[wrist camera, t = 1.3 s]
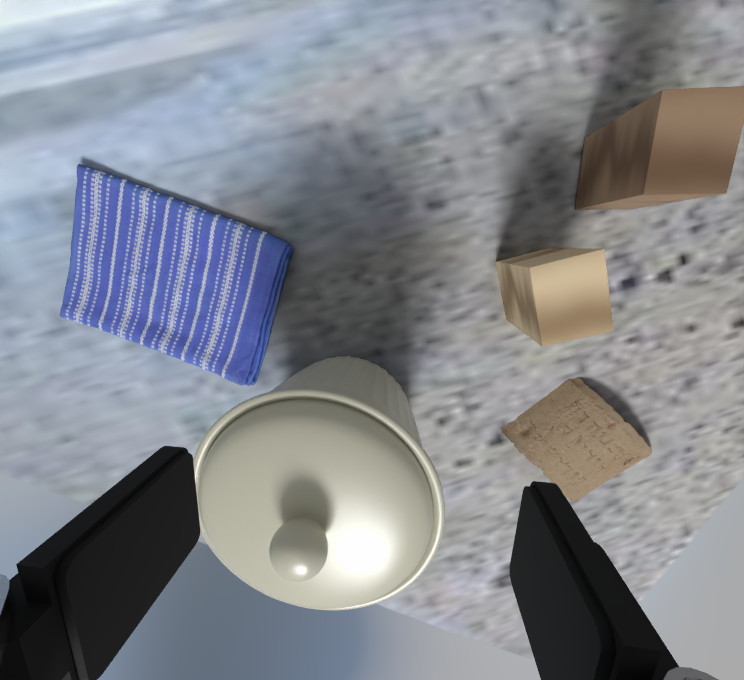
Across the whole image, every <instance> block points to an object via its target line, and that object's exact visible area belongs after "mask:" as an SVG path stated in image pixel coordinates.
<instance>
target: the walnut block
mask: <svg viewBox="0 0 744 680" xmlns="http://www.w3.org/2000/svg"><path fill="white" fill-rule="evenodd" d="M743 122H744V86H737V87H713V88H690V89H667V90H661V91H660V92H658V93H656V94H655V95H653V96H652V97H650V98H648V99H647V100H645V101H643V102H642V103H640V104H639V105H637V106H635V107H634V108H632V109H630V110H629V111H627V112H626V113H624V114H622V115H621V116H619V117H617V118H616V119H614V120H613V121H611V122H609V123H608V124H606V125H604V126H603V127H601V128H600V129H598V130H596V131H595V132H593V133H591V134H590V135H588V136H587V137H585V139H584V147H583V154H582V161H581V168H580V176H579V183H578V190H577V197H576V205H575V210H589V209H635V208H641V207H647V206H653V205H659V204H665V203H671V202H677V201H683V200H689V199H695V198H701V197H707V196H713V195H719V194H725V193H727V189H728V185H729V180H730V176H731V172H732V168H733V164H734V160H735V155H736V151H737V147H738V143H739V139H740V135H741V130H742V126H743Z"/></svg>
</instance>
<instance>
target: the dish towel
mask: <svg viewBox="0 0 744 680" xmlns="http://www.w3.org/2000/svg"><path fill="white" fill-rule="evenodd" d="M77 178H78V183H77V189H76V198H75V213H74V224H73V234H72V242H71V258H70V267H69V273H68V278H67V283H66V287H65V293H64V298H63V304H62V308H61V312H60V317H62V318H66V319H69V320H73V321H75V322H77V323H80V324H84V325H88V326H92V327H96V328H98V329H100V330H103V331H106V332H109V333H112V334H114V335H117V336H119V337H121V338H124V339H127V340H130V341H133V342H136V343H139V344H141V345H144V346H146V347H148V348H152V349H155V350H158V351H160V352H161V353H164V354H167V355H170V356H172V357H176V358H178V359H181V360H182V361H184V362H187V363H190V364H193V365H196V366H199V367H200V368H202V369H204V370H208V371H211V372H213V373H215V374H218V375H220V376H221V377H223V378H225V379H227V380H229V381H231V382H234V383H237V384H239V385H250V384H251V385H254V384H255V383H256V381H257V378H258V375H259V371H260V368H261V364H262V362H263V359H264V356H265V353H266V349H267V344H268V340H269V335H270V331H271V326H272V323H273V319H274V316H275V312H276V309H277V305H278V301H279V296H280V293H281V290H282V286H283V283H284V279H285V275H286V272H287V269H288V265H289V261H290V259H291V256H292V253H293V248H292V247H291V246H290V244H289V243H287V242H285V241H283V240H281V239H279V238H276V237H274V236H272V235H270V234H268V233H267V232H264V231H261V230H258V229H255V228H253V227H250V226H248V225H245V224H244V223H240V222H238V221H235V220H233V219H230V218H226V217H223V216H221V215H220V214H215V213H212V212H209V211H207V210H204V209H202V208H200V207H198V206H194V205H191V204H188V203H186V202H183V201H180V200H178V199H176V198H174V197H170V196H167V195H164V194H161V193H158V192H156V191H154V190H152V189H150V188H146V187H143V186H141V185H139V184H135V183H133V182H130V181H129V180H127V179H122V178H118V177H116V176H113V175H110V174H108V173H105V172H103V171H99V170H95V169H93V168H89V167H86V166H84V165H81V164H78V166H77Z"/></svg>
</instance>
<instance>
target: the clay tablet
mask: <svg viewBox="0 0 744 680" xmlns="http://www.w3.org/2000/svg"><path fill="white" fill-rule="evenodd" d="M501 429H502V432H503V433H504V434H505V436H506V437H507V438H508V439H510V441H511V442H513V443H515V447H516V448H517V449H518V451H519V452H520V453H524V455H525V457H526V458H527V459H528V460H529V461H530V462H532V463H533V464H534V465H537V466H538V467H540V468H541V469H542V470H543V473H544V474H545V475H547V476H548V477H549V478H550V480H551V482H552V483H555V484H557V485H558V486H559V488H560V489H561V491H562V493H563V494H564V496H566V497H568V498H570V500H573V501H574V502H576V501H578V500H579V499H580V498H581V497H583V496H585V495H586V494H588V493H589V492H590V491H592V490H594V489H595V488H597V487H598V486H600V485H602V484H603V483H605V482H606V481H608V480H609V479H611V478H612V477H614V476H616V475H618V474H619V473H621V472H623V471H624V470H626V469H627V468H629V467H631V466H632V465H634V464H636V463H637V462H639V461H641V460H642V459H644V458H646V457H648V456H649V455H651V453H652V450H651V448H650V446H648V444H647V443H646V442H644V439H643V437H641V436H639V434H638V433H637V432H636V430H635V429H634V428H633V427H632V426H631V425H630V424H629V423H627V422H624V420H623V418H622V417H621V416H620V415H619V414H618V413H617V412H616V411H614V410H613V408H612V406H610V405H609V404H607V403H606V402H605V401H604V400H603V399H602V398H601V397H600V396H599V395H598V394H597V393H596V392H594V391H593V390H592V389H590V388H589V386H588V385H585V384H584V382H583V381H582V380H581V379H580V378H578V377H577V378H575V379H568V380H567V381H565V382H564V383H563V384H561V385H560V386H559V387H558V388H557V389H555V390H554V391H552V392H551V393H550V394H549V395H547V396H546V397H545V398H543V399H541V400H540V401H539V402H537V403H536V404H535V405H533V406H532V407H531V408H530V409H528V410H527V411H525V412H524V413H523V414H521V415H520V416H518V417H517V419H516V420H515V421H513V422H510V423H508V424H507V425H505V426H504V427H502V428H501Z"/></svg>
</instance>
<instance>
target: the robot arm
mask: <svg viewBox="0 0 744 680" xmlns="http://www.w3.org/2000/svg"><path fill="white" fill-rule="evenodd" d="M199 536H200V521H199V511H198V502H197V492H196V483H195V473H194V464H193V457H192V455H191V454H190V453H188V451H187V449H186V448H182V447H172V446H164V447H162V448H160V449H159V450H158V451H157V452H155V453H154V454H153V455H152V456H150V457H149V458H148V459H147V460H146V461H144V462H143V463H142V464H141V465H139V466H138V467H137V468H136V469H134V470H133V471H132V472H131V473H129V474H128V475H127V476H126V477H124V478H123V479H122V480H121V481H119V482H118V483H117V484H116V485H114V486H113V487H112V488H111V489H110V490H108V491H107V492H106V493H105V494H103V495H102V496H101V497H100V498H98V499H97V500H96V501H95V502H93V503H92V504H91V505H90V506H88V507H87V508H86V509H85V510H83V511H82V512H81V513H80V514H78V515H77V516H76V517H75V518H74V519H72V520H71V521H70V522H69V523H67V524H66V525H65V526H64V527H62V528H61V529H60V530H59V531H57V532H56V533H55V534H54V535H53V536H51V537H50V538H49V539H47V540H46V541H45V542H44V543H43V544H41V545H40V546H39V547H38V548H36V549H35V550H34V551H33V552H31V553H30V554H29V555H28V556H26V557H25V558H24V559H23V560H21V561H20V562H19V563H18V564H17V568H18V572H19V573H18V574H17V575H15V576H14V577H13V578H12V579H11V580H9V579H8V578H7V577H6V576H5V575H2V574H0V680H97V679H98V678H99V677H100V676H101V675H102V674H103V672H104V671H105V670H106V668H107V667H108V666H109V664H110V663H111V661H112V660H113V659H114V657H115V656H116V654H117V653H118V652H119V650H120V649H121V647H122V646H123V645H124V643H125V642H126V641H127V639H128V638H129V636H130V635H131V634H132V632H133V631H134V629H135V628H136V627H137V625H138V624H139V623H140V621H141V620H142V618H143V617H144V615H145V614H146V613H147V611H148V610H149V609H150V607H151V606H152V604H153V603H154V602H155V600H156V599H157V597H158V596H159V595H160V593H161V592H162V591H163V589H164V588H165V586H166V585H167V584H168V582H169V581H170V579H171V578H172V577H173V575H174V574H175V573H176V571H177V570H178V568H179V567H180V566H181V564H182V563H183V561H184V560H185V559H186V557H187V556H188V554H189V553H190V552H191V550H192V549H193V548H194V546H195V544H196V543H197V541H198V539H199ZM510 578H511V583H512V586H513V590H514V593H515V596H516V599H517V603H518V606H519V609H520V613H521V616H522V619H523V622H524V626H525V629H526V632H527V635H528V639H529V642H530V645H531V648H532V652H533V655H534V658H535V662H536V665H537V668H538V671H539V675H540V677H541V680H718V679H716V678H714V677H713V676H711V675H709V674H707V673H704V672H701V671H698V670H695V669H692V668H685V667H679V666H678V664H677V663H676V661H675V660H674V658H673V657H672V655H671V654H670V652H669V650H668V649H667V647H666V646H665V644H664V643H663V641H662V640H661V638H660V636H659V635H658V633H657V632H656V630H655V629H654V627H653V626H652V624H651V623H650V621H649V619H648V618H647V616H646V615H645V613H644V612H643V610H642V609H641V607H640V605H639V604H638V602H637V601H636V599H635V598H634V596H633V595H632V593H631V592H630V590H629V588H628V587H627V585H626V584H625V582H624V581H623V579H622V578H621V576H620V574H619V573H618V571H617V570H616V568H615V567H614V565H613V564H612V562H611V561H610V559H609V557H608V556H607V554H606V553H605V551H604V550H603V549H602V548H601V546H600V545H598V544H597V543H595V542H593V540H592V539H591V537H590V535H589V534H588V532H587V531H586V529H585V528H584V526H583V524H582V523H581V521H580V520H579V518H578V516H577V515H576V513H575V512H574V510H573V508H572V507H571V505H570V504H569V502H568V500H567V499H566V497H565V496H564V494H563V493H562V491H561V489H560V488H559V486H558V485H557V484H555V483H546V482H536V481H533V482H532V483H531V485H530V487H528V486H526V487H524V490H523V494H522V500H521V506H520V511H519V517H518V523H517V529H516V534H515V540H514V546H513V551H512V557H511V563H510Z"/></svg>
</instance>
